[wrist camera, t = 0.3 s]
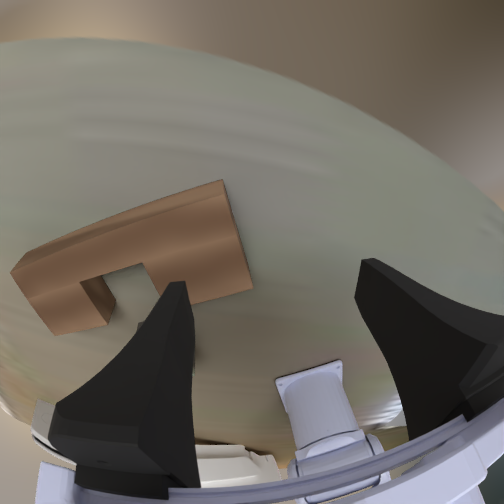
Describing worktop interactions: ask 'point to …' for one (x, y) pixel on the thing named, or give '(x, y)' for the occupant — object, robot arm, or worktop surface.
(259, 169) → the worktop surface
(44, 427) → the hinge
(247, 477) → the shelf bracket
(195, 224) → the brown u-shaped block
